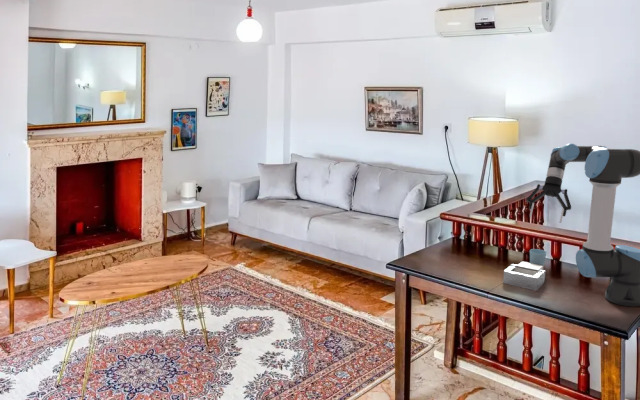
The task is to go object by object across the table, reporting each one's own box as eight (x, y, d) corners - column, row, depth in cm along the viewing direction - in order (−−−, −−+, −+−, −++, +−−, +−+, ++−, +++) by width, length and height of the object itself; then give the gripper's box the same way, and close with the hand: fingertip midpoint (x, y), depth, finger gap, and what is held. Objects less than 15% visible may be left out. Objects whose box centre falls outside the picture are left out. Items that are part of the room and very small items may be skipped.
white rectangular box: (511, 275, 266) (512, 263, 265) (544, 282, 257) (545, 270, 256) (503, 283, 257) (503, 270, 255) (536, 290, 248) (537, 277, 246)
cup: (548, 273, 269) (550, 252, 267) (536, 275, 266) (538, 254, 264) (536, 268, 276) (538, 248, 274) (524, 270, 273) (526, 250, 271)
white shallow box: (516, 270, 270) (517, 259, 269) (547, 276, 261) (548, 265, 260) (509, 276, 262) (510, 265, 260) (540, 283, 253) (541, 271, 252)
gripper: (580, 185, 270) (572, 226, 266) (527, 176, 279) (518, 215, 275) (582, 180, 263) (574, 222, 259) (527, 171, 273) (518, 211, 268)
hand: (545, 219), depth 267 cm, fingers open, 13 cm apart
